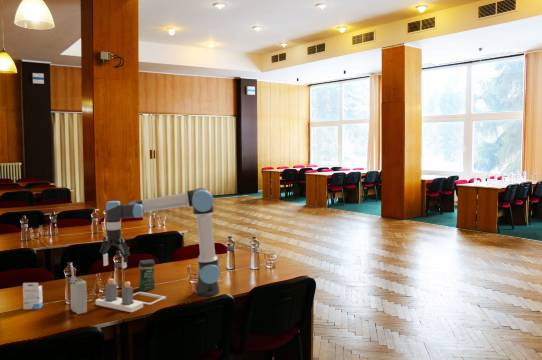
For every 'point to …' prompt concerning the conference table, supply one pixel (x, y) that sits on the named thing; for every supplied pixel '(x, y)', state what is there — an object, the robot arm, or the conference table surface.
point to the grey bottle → (110, 290)
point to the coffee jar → (146, 275)
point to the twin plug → (127, 294)
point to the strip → (119, 304)
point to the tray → (150, 296)
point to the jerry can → (78, 294)
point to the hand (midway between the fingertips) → (115, 266)
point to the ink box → (32, 296)
